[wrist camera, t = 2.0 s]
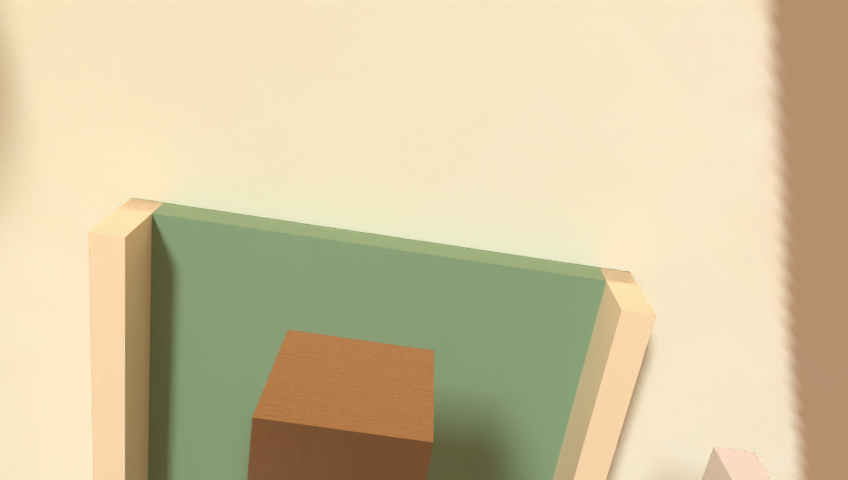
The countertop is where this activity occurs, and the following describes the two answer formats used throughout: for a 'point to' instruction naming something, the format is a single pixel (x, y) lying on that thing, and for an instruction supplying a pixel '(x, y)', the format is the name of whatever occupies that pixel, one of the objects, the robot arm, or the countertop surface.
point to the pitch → (356, 319)
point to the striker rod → (344, 411)
